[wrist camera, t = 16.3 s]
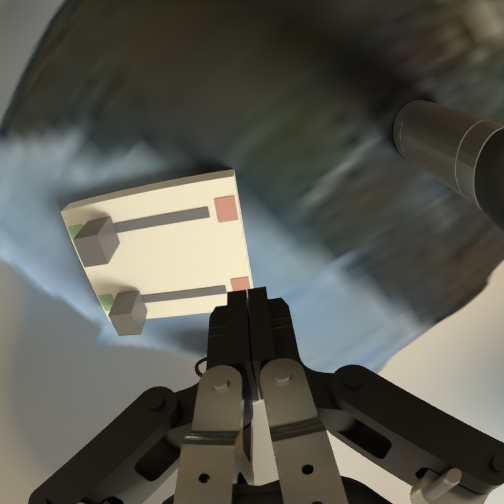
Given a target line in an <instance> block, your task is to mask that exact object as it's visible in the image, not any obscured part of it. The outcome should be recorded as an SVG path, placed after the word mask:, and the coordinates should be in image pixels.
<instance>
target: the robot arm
mask: <svg viewBox="0 0 504 504" xmlns="http://www.w3.org/2000/svg"><path fill="white" fill-rule="evenodd" d="M393 137H394V142H395V145H396V147H397V149H398V151H399V153H400V154H401V155H402V156H403V157H404V158H405V159H407V160H408V161H410V162H411V163H413V164H415V165H416V166H418V167H419V168H421V169H422V170H424V171H426V172H427V173H429V174H430V175H432V176H433V177H435V178H436V179H438V180H439V181H441V182H442V183H444V184H445V185H447V186H448V187H450V188H451V189H453V190H454V191H456V192H457V193H459V194H460V195H461V196H463V197H464V198H466V199H467V200H468V201H470V202H471V203H473V204H474V205H475V206H477V207H478V208H479V209H481V210H482V211H483V212H484V213H486V214H487V215H488V216H489V217H491V219H492V220H493V222H494V223H495V224H496V225H497V226H498V227H499V228H500V229H501V230H503V231H504V125H503V124H501V123H498V122H495V121H492V120H489V119H486V118H483V117H480V116H477V115H474V114H471V113H468V112H464V111H461V110H458V109H454V108H451V107H447V106H443V105H440V104H436V103H432V102H428V101H424V100H416V101H412V102H410V103H408V104H406V105H405V106H404V107H402V109H401V110H400V111H399V112H398V114H397V116H396V118H395V122H394V126H393ZM247 292H248V296H247ZM208 335H209V337H208V350H207V367H206V372H204V373H203V375H202V376H201V378H200V380H199V382H198V383H197V384H195V385H194V386H192V387H189V388H187V389H184V390H181V391H178V392H175V393H174V392H173V391H172V390H170V389H168V388H166V387H162V386H159V387H153V388H150V389H148V390H146V391H145V392H143V393H142V394H141V395H140V396H139V397H138V398H137V399H136V400H135V401H134V402H133V403H132V404H131V405H129V406H128V407H127V408H126V409H125V410H124V411H123V412H122V413H121V414H120V415H119V416H118V417H117V418H115V419H114V420H113V421H112V422H111V423H110V424H109V425H108V426H107V427H106V428H104V429H103V430H102V431H101V432H100V433H99V434H98V435H97V436H96V437H95V438H93V439H92V440H91V441H90V442H89V443H88V444H87V445H86V446H85V447H83V448H82V449H81V450H80V451H79V452H78V453H77V454H76V455H75V456H73V457H72V458H71V459H70V460H69V461H68V462H67V463H66V464H64V465H63V466H62V467H61V468H60V469H59V470H58V471H56V472H55V473H54V474H53V475H52V476H51V477H50V478H48V479H47V480H46V481H45V482H44V483H43V484H42V485H40V487H38V488H37V489H36V490H35V491H34V492H33V493H32V494H31V496H30V498H29V503H28V504H142V503H143V502H144V501H145V500H146V499H147V498H148V497H149V496H150V495H151V494H152V493H153V492H154V491H155V490H157V489H158V487H160V486H161V484H163V483H164V481H166V480H167V478H168V477H169V476H170V475H171V474H172V473H173V472H174V471H175V470H176V469H177V468H178V474H177V481H176V488H175V494H174V495H172V496H171V497H169V498H168V499H167V500H165V501H164V502H163V503H162V504H392V503H391V502H389V501H387V500H386V499H385V498H383V497H382V496H380V495H379V494H378V493H376V492H375V491H373V490H372V489H370V488H369V487H368V486H366V485H365V484H363V483H361V482H359V481H357V480H354V479H351V478H348V477H344V476H340V474H339V470H338V467H337V464H336V461H335V457H334V454H333V451H332V447H331V444H330V441H329V438H328V435H327V431H326V430H328V431H329V432H330V433H331V434H332V435H333V436H335V437H336V438H338V439H339V440H341V441H342V442H343V443H345V444H346V445H348V446H349V447H351V448H352V449H354V450H355V451H357V452H358V453H360V454H361V455H363V456H364V457H366V458H367V459H369V460H370V461H372V462H373V463H375V464H377V465H378V466H380V467H381V468H383V469H385V470H386V471H388V472H390V473H391V474H393V475H394V476H396V477H398V478H399V479H401V480H403V481H404V482H406V483H408V484H409V485H411V486H413V487H412V489H411V492H410V500H411V503H412V504H484V502H485V500H486V498H487V496H488V495H489V493H490V492H491V491H492V490H494V489H496V488H497V487H499V486H500V485H502V484H503V483H504V443H503V442H501V441H499V440H496V439H495V438H493V437H491V436H489V435H487V434H485V433H483V432H481V431H479V430H477V429H475V428H473V427H471V426H470V425H467V424H466V423H464V422H462V421H460V420H458V419H456V418H454V417H453V416H451V415H449V414H447V413H445V412H443V411H441V410H439V409H437V408H436V407H434V406H432V405H430V404H429V403H427V402H425V401H423V400H421V399H419V398H418V397H416V396H414V395H412V394H411V393H409V392H407V391H405V390H404V389H402V388H400V387H398V386H396V385H394V384H393V383H391V382H389V381H388V380H386V379H384V378H383V377H381V376H379V375H377V374H376V373H374V372H372V371H370V370H369V369H367V368H365V367H363V366H360V365H346V366H343V367H341V368H339V369H338V370H337V371H335V373H324V372H317V371H313V370H311V369H309V368H308V367H306V366H305V365H304V364H303V363H302V361H301V359H300V357H299V352H298V348H297V343H296V338H295V333H294V329H293V324H292V319H291V315H290V310H289V306H288V305H287V303H286V302H285V301H284V300H283V299H282V298H275V299H268V298H267V291H266V287H259V288H252V289H247V291H246V289H245V290H237V291H230V292H227V305H224V306H216V307H215V308H214V310H213V312H212V313H211V315H210V320H209V334H208ZM258 389H259V394H260V398H261V400H264V403H265V408H266V413H267V418H268V423H269V429H270V434H271V440H272V445H273V451H274V456H275V461H276V466H277V471H278V476H279V480H277V481H274V482H271V483H268V484H265V485H262V486H254V472H253V401H256V400H259V394H258Z"/></svg>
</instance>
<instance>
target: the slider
mask: <svg viewBox="0 0 504 504" xmlns="http://www.w3.org/2000/svg"><path fill="white" fill-rule="evenodd" d="M147 312H148V310H147V308H146V306H145V303H144V301H143V299H142V296H141V294H140V292H139V290H138V291H130V292H121V293H117V296H116V298H115V300H114V303H113V305H112V307H111V310H110V312H109V315H108V316H109V318H110V320H111V322H112V324H113V326H114V328H115V329H116V331H117V333H118V335H119V336H125V335H141V333H142V329H143V326H144V322H145V319H146V315H147Z"/></svg>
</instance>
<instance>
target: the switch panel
mask: <svg viewBox="0 0 504 504" xmlns="http://www.w3.org/2000/svg"><path fill="white" fill-rule="evenodd" d="M61 214H62V217H63V220H64V222H65V225H66V227H67V230H68V232H69V235H70V237H71V240H72V242H73V238H74V237H75V236H76V235H77V233H78V232H79V231H80V230H81V229H82V227H83V226H84V225H85V224H86V223H87V221H90V220H94V219H99V218H104V217H108V216H111V218H112V221H113V224H114V227H115V230H116V233H117V236H118V238H119V241H120V244H119V246H118V248H117V249H116V251H115V253H114V255H113V256H112V258H111V260H110V262H109V264H104V265H98V266H91V267H85V268H84V266H83V263H82V261H81V259H80V256H79V254H78V252H77V249H76V247H75V245H74V242H73V245H74V247H75V249H76V252H77V254H78V256H79V259H80V261H81V263H82V266H83V268H84V270H85V272H86V274H87V277H88V279H89V281H90V283H91V285H92V287H93V289H94V291H95V293H96V295H97V297H98V299H99V301H100V303H101V305H102V307H103V309H104V311H105V313H106V315H107V317H108V319H109V321H110V322H111V320H110V318H109V316H108V315H109V312H110V310H111V307H112V305H113V303H114V300H115V298H116V296H117V293H121V292H130V291H138V290H139V292H140V294H141V296H142V299H143V301H144V303H145V306H146V308H147V310H148V312H147V315H146V319H149V318H160V317H170V316H180V315H190V314H199V313H208V312H213V310H214V308H215V307H216V306H224V305H227V292H230V291H237V290H245V289H246V291H247V289H252V288H253V282H252V276H251V270H250V264H249V258H248V252H247V246H246V240H245V234H244V228H243V221H242V215H241V209H240V203H239V197H238V191H237V185H236V178H235V172H234V169H231V170H225V171H219V172H212V173H206V174H201V175H195V176H189V177H184V178H178V179H173V180H168V181H163V182H158V183H153V184H148V185H143V186H139V187H134V188H129V189H125V190H121V191H116V192H112V193H108V194H103V195H99V196H95V197H91V198H87V199H83V200H79V201H76V202H72V203H69V204H68V205H67V206H66V207H65V208H64V209H63V210H62V211H61ZM247 296H248V292H247Z"/></svg>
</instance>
